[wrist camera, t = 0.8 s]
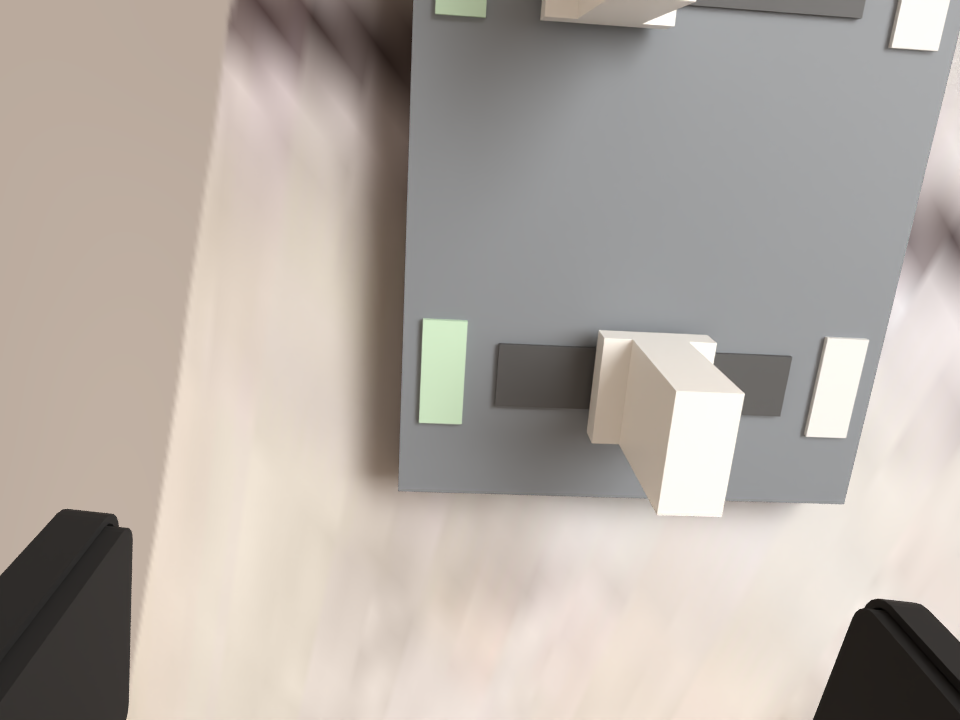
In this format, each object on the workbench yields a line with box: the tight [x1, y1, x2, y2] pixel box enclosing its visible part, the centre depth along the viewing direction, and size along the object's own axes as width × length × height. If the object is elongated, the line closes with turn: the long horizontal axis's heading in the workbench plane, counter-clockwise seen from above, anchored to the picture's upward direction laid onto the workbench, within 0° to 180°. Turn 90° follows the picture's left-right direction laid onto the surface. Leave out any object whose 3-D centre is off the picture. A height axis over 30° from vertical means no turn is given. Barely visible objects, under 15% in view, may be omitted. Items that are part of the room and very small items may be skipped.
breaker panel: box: [398, 0, 960, 504], centre depth 27 cm, size 24×18×2 cm
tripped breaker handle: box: [587, 330, 745, 517], centre depth 25 cm, size 4×4×6 cm
